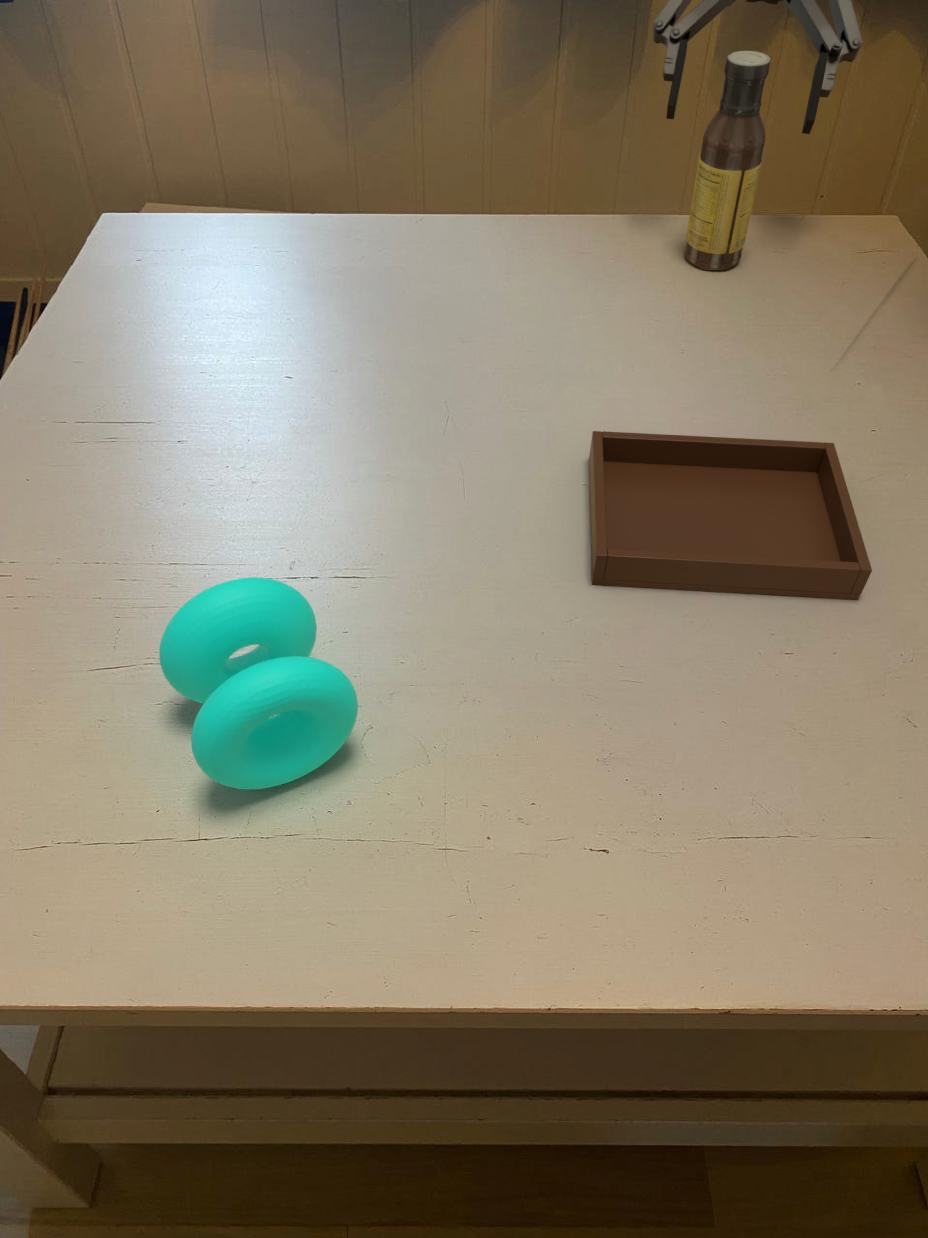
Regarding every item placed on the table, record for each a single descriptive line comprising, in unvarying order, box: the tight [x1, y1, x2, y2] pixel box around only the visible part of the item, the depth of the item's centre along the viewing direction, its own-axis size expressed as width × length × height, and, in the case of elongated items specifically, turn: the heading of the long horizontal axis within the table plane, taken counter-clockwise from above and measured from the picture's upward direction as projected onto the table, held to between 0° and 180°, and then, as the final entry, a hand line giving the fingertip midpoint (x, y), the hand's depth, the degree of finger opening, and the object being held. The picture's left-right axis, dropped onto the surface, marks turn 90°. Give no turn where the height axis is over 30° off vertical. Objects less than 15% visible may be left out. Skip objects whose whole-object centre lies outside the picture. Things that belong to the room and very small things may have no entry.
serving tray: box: [588, 430, 873, 600], centre depth 74 cm, size 20×15×3 cm
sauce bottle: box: [684, 50, 771, 271], centre depth 95 cm, size 6×6×20 cm
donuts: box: [158, 577, 359, 790], centre depth 58 cm, size 10×10×10 cm
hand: (738, 120), depth 95 cm, fingers open, 13 cm apart
